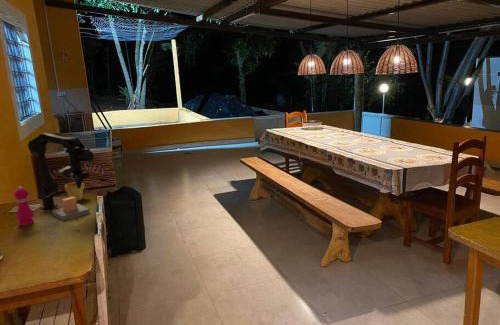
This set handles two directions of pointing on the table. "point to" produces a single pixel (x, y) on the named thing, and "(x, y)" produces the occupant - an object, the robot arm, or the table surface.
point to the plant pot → (74, 190)
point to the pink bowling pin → (23, 207)
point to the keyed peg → (69, 204)
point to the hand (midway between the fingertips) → (78, 188)
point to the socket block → (70, 213)
